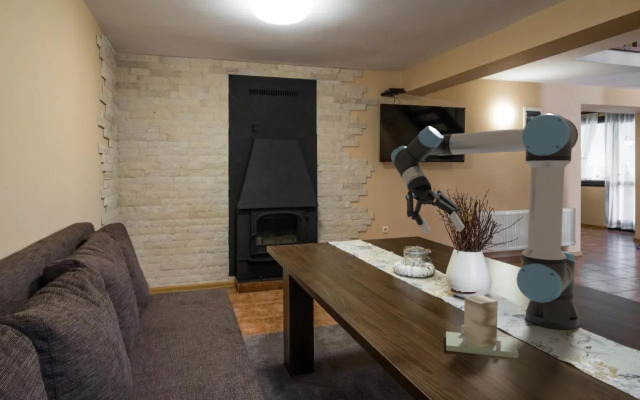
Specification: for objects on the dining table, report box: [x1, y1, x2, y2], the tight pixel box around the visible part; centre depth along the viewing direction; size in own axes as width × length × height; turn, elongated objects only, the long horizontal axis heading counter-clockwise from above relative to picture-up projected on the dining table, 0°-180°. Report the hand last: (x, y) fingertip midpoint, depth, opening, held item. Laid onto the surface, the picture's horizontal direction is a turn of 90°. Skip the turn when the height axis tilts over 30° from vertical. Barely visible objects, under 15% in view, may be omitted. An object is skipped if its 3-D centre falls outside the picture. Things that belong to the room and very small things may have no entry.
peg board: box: [445, 324, 520, 359], centre depth 116 cm, size 18×10×4 cm, turn 74°
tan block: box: [463, 294, 499, 347], centre depth 115 cm, size 6×6×12 cm
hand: (445, 231), depth 133 cm, fingers open, 13 cm apart
